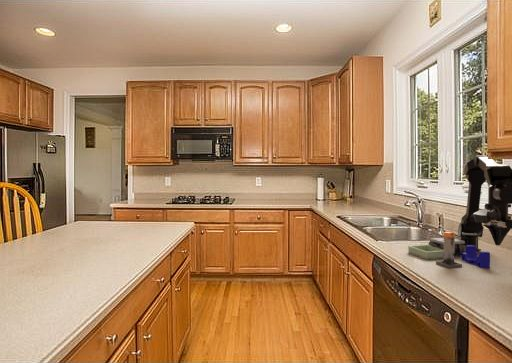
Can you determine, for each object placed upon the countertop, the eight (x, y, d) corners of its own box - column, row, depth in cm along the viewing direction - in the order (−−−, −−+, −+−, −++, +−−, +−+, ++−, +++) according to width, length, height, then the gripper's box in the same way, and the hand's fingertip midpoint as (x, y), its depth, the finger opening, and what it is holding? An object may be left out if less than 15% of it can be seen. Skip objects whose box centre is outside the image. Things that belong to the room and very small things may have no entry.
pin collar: (449, 262, 131) (449, 260, 131) (462, 266, 125) (462, 264, 125) (436, 263, 130) (436, 261, 130) (448, 268, 124) (448, 265, 124)
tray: (427, 251, 149) (427, 244, 149) (447, 258, 138) (447, 250, 138) (408, 252, 147) (408, 246, 147) (427, 259, 136) (427, 252, 136)
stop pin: (449, 263, 129) (449, 231, 129) (456, 266, 126) (456, 233, 126) (441, 264, 129) (441, 232, 128) (448, 267, 125) (448, 233, 125)
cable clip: (461, 259, 136) (461, 245, 135) (473, 260, 135) (473, 245, 135) (476, 268, 124) (476, 252, 123) (489, 268, 123) (489, 252, 123)
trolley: (449, 249, 153) (449, 236, 152) (472, 255, 140) (472, 241, 140) (423, 251, 150) (423, 237, 150) (444, 258, 138) (444, 243, 138)
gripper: (457, 199, 125) (457, 241, 126) (504, 204, 107) (503, 253, 107) (482, 198, 128) (482, 239, 128) (532, 203, 109) (531, 250, 110)
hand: (497, 245), depth 118 cm, fingers closed
